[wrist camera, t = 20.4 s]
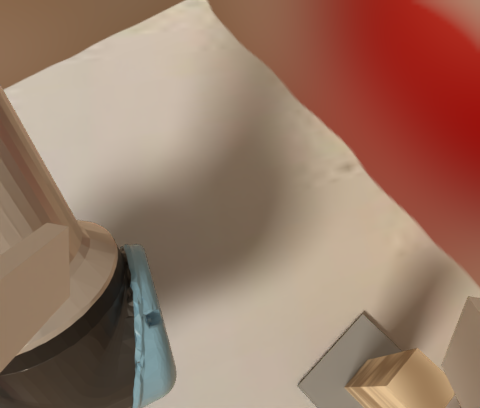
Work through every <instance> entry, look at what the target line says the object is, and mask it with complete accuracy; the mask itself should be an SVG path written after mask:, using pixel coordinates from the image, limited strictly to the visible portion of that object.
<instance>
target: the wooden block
mask: <svg viewBox="0 0 480 408" xmlns="http://www.w3.org/2000/svg"><path fill="white" fill-rule="evenodd" d="M344 388H345V389H346V390H347V391H348V392H349V393H350V394H351V395H352V396H353V397H354V398H355V399H356V400H357V401H358V402H359V403H360V404H361V405H362V406H363V407H364V408H445V407H446V406H447V404H448V403H449V402H450V400H451V399H452V398H453V396H454V395H455V393H454V391H453V389H452V387H451V385H450V382H449V380H448V378H447V376H446V374H445V373H444V372H443V371H442V370H441V369H440V368H438V367H437V366H436V365H435V364H434V363H433V362H432V361H431V360H430V359H429V358H428V357H427V356H425V355H424V354H423V353H422V352H421V351H420V350H419V349H418V348H416V349H411V350H407V351H403V352H399V353H395V354H390V355H386V356H382V357H378V358H373V359H369V360H367V361H366V362H365V363H364V364H363V366H362V367H361V368H360V369H359V370H358V372H357V373H356V374H355V375H354V376H353V377H352V379H351V380H350V381H349V382H348V383H347V385H346V386H345V387H344Z"/></svg>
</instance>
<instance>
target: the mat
mask: <svg viewBox="0 0 480 408" xmlns="http://www.w3.org/2000/svg"><path fill="white" fill-rule="evenodd" d="M399 352H402V351H401V350H400V349H399V348H398V347H397V346H396V345H395V344H394V343H393V342H392V341H391V340H390V339H389V338H388V337H387V336H385V335H384V334H383V333H382V332H381V331H380V330H379V329H378V328H377V327H376V326H375V325H374V324H373V323H372V322H371V321H370V320H369V319H368V318H366V317H365V316H364V315H363V314H362V315H361V316H360V317H359V318H358V319H357V320H356V321H355V323H354V324H353V325H352V326H351V327H350V328H349V329H348V330H347V331H346V332H345V334H344V335H343V336H342V337H341V338H340V339H339V340H338V341H337V342H336V344H335V345H334V346H333V347H332V348H331V349H330V350H329V351H328V352H327V354H326V355H325V356H324V357H323V358H322V359H321V360H320V361H319V362H318V363H317V365H316V366H315V367H314V368H313V369H312V370H311V371H310V372H309V373H308V375H307V376H306V377H305V378H304V379H303V380H302V381H301V382H300V383H299V385H298V387H299V388H300V389H301V390H302V392H303V393H304V394H305V395H306V396H307V397H308V398H309V399H310V400H311V401H312V402H313V403H314V404H315V406H316V407H317V408H364V407H363V406H362V405H361V404H360V403H359V402H358V401H357V400H356V399H355V398H354V397H353V396H352V395H351V394H350V393H349V392H348V391H347V390H346V389H345V388H344V387H345V386H346V385H347V383H348V382H349V381H350V380H351V379H352V377H353V376H354V375H355V374H356V373H357V372H358V370H359V369H360V368H361V367H362V366H363V364H364V363H365V362H366V361H367V360H369V359H373V358H378V357H382V356H386V355H390V354H395V353H399Z"/></svg>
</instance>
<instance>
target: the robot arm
mask: <svg viewBox="0 0 480 408" xmlns="http://www.w3.org/2000/svg"><path fill="white" fill-rule="evenodd" d="M441 365H442V368H443V370H444V372H445V374H446V376H447V378H448V380H449V382H450V385H451V387H452V389H453V391H454V393H455V395H456V397H457V399H458V401H459V404H460V406H461V408H480V298H475V297H470V296H468V297H467V300H466V303H465V305H464V308H463V310H462V313H461V315H460V318H459V321H458V323H457V326H456V328H455V331H454V333H453V336H452V339H451V341H450V344H449V346H448V349H447V351H446V354H445V357H444V359H443V362H442V364H441ZM175 381H176V366H175V362H174V359H173V355H172V351H171V347H170V343H169V339H168V336H167V332H166V328H165V324H164V320H163V317H162V313H161V309H160V305H159V302H158V298H157V294H156V291H155V287H154V283H153V279H152V275H151V272H150V268H149V264H148V260H147V257H146V253H145V250H144V248H143V247H142V246H141V245H139V244H134V245H126V244H125V245H124V246H122V247H121V248H120V250H119V248H118V246H117V244H116V242H115V240H114V239H113V237H112V236H111V234H110V233H109V232H108V230H106V229H105V228H104V227H102V226H100V225H98V224H96V223H92V222H89V221H81V220H76V219H75V217H74V215H73V213H72V211H71V210H70V208H69V206H68V204H67V203H66V201H65V199H64V197H63V195H62V194H61V192H60V190H59V188H58V187H57V185H56V183H55V181H54V180H53V178H52V176H51V174H50V172H49V171H48V169H47V167H46V165H45V164H44V162H43V160H42V158H41V156H40V155H39V153H38V151H37V149H36V148H35V146H34V144H33V142H32V140H31V139H30V137H29V135H28V133H27V132H26V130H25V128H24V126H23V124H22V123H21V121H20V119H19V117H18V116H17V114H16V112H15V110H14V108H13V107H12V105H11V103H10V101H9V100H8V98H7V96H6V94H5V92H4V91H3V89H2V87H1V85H0V408H143V407H145V406H147V405H149V404H151V403H153V402H154V401H156V400H158V399H160V398H162V397H164V396H165V395H167V394H168V393H169V392H170V391H171V389H172V388H173V386H174V384H175Z"/></svg>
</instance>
